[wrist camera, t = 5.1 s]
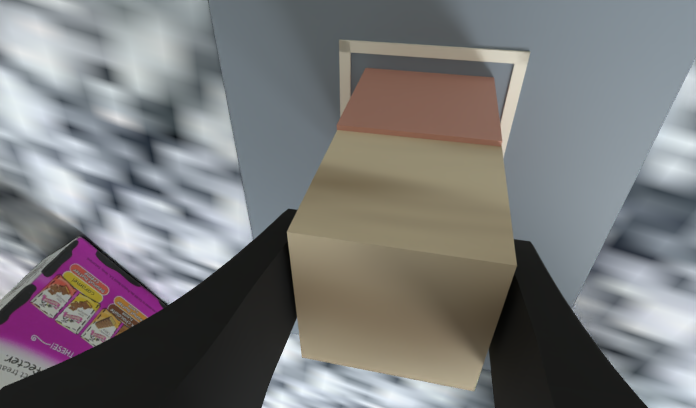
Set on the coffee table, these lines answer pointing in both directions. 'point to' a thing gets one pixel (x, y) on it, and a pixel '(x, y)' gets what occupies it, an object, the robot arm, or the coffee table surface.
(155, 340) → the robot arm
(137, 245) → the coffee table surface
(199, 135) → the coffee table surface
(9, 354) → the candy bar box
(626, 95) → the grey flat plate
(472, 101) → the brick-red base block
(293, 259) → the maple block
